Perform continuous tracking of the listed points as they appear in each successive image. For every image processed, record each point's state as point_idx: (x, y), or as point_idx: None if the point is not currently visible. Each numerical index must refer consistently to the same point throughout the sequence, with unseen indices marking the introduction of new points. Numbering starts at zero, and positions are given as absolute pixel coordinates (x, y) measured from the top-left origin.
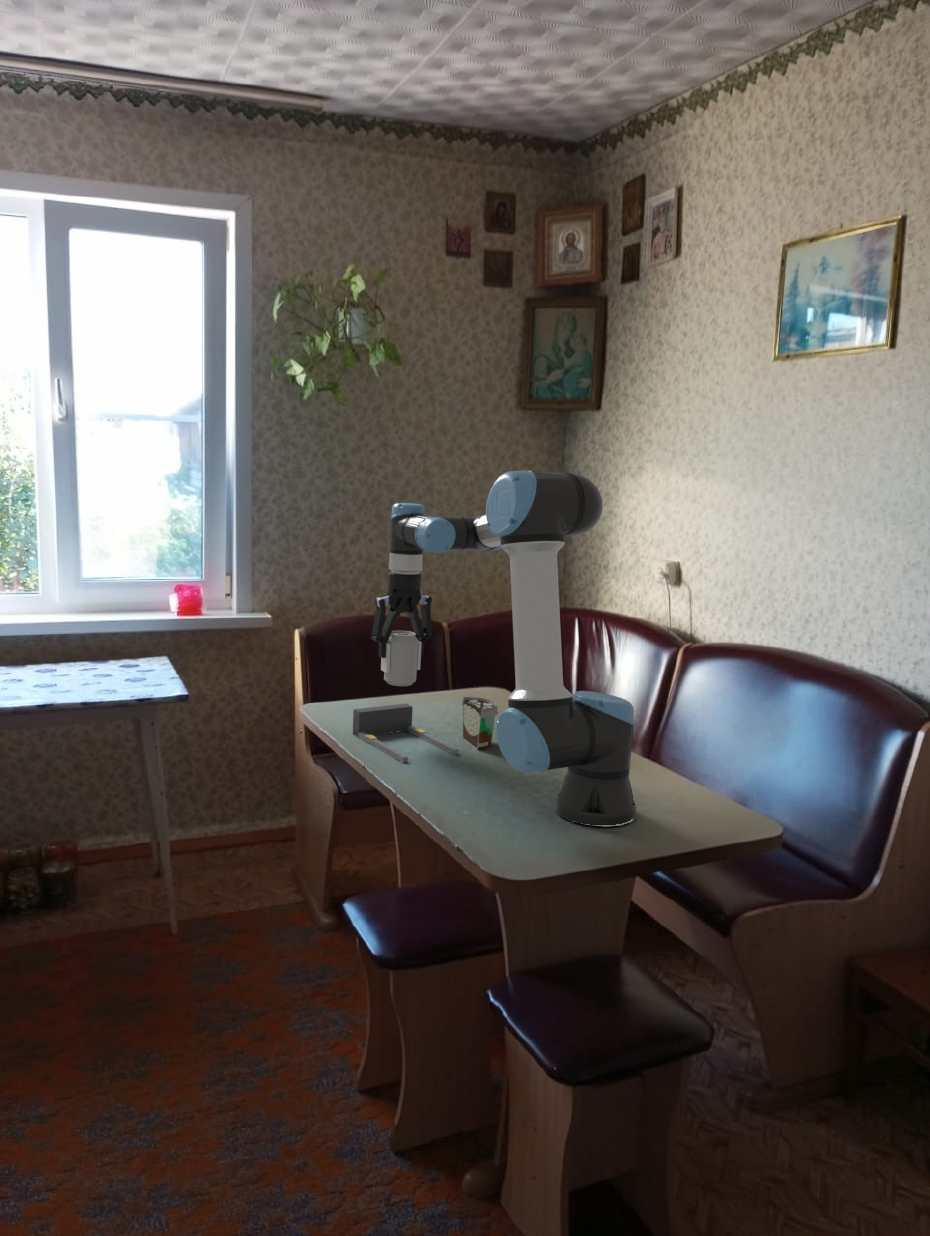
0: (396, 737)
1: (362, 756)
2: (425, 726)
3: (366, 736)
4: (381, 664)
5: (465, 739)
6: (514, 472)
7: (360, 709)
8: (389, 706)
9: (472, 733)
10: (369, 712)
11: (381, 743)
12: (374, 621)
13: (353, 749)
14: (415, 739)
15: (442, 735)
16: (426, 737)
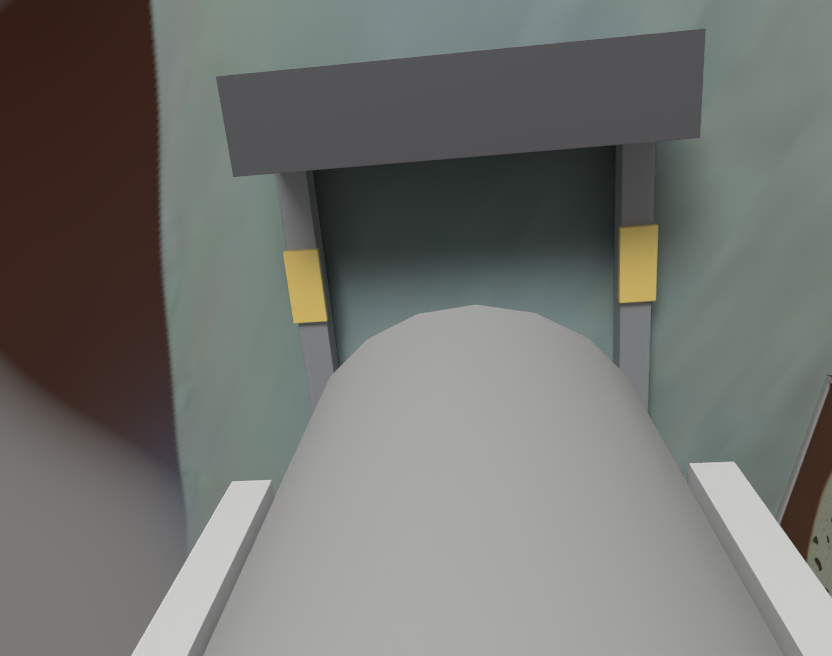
0: (489, 232)
1: (204, 455)
2: (788, 65)
3: (286, 265)
4: (208, 536)
5: (821, 409)
6: None
7: (266, 97)
8: (521, 80)
9: (821, 526)
10: (317, 167)
11: None
12: None
13: (192, 349)
14: (572, 302)
15: (762, 284)
16: (617, 354)
